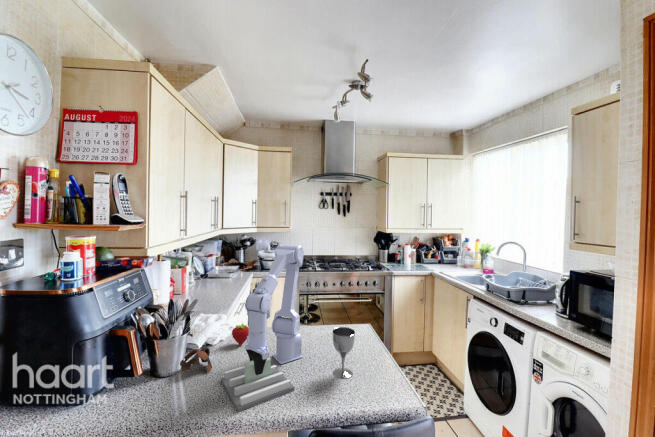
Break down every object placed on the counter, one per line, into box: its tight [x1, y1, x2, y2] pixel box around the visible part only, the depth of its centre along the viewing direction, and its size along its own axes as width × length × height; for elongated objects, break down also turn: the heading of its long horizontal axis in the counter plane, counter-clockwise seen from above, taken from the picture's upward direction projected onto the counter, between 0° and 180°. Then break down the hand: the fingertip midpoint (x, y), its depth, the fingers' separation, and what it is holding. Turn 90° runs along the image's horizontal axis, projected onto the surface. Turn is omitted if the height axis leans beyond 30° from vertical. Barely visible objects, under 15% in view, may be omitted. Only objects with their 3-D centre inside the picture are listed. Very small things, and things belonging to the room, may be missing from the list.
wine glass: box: [331, 326, 356, 380], centre depth 101 cm, size 8×8×15 cm
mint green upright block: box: [244, 357, 272, 384], centre depth 93 cm, size 8×2×7 cm, turn 125°
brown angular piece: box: [179, 346, 213, 374], centre depth 103 cm, size 12×10×8 cm
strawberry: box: [231, 322, 249, 346], centre depth 121 cm, size 6×8×10 cm
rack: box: [220, 362, 295, 413], centre depth 93 cm, size 18×18×3 cm
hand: (257, 371), depth 93 cm, fingers open, 3 cm apart
